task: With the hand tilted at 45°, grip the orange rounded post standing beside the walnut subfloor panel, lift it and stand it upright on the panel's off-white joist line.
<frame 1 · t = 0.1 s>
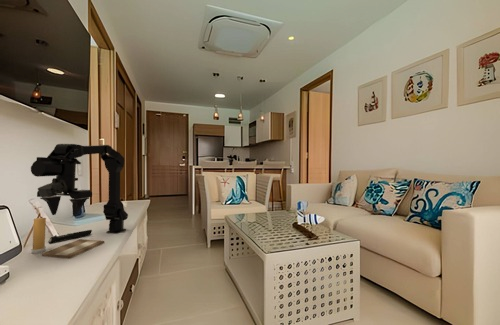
hand: (64, 215, 84), 15 cm above the tv stand, tool pointing down, fingers open, 9 cm apart
electric trimmer: (70, 239, 99), on the tv stand
subfloor panel: (75, 249, 88), on the tv stand
orange rounded post: (38, 251, 84), on the tv stand
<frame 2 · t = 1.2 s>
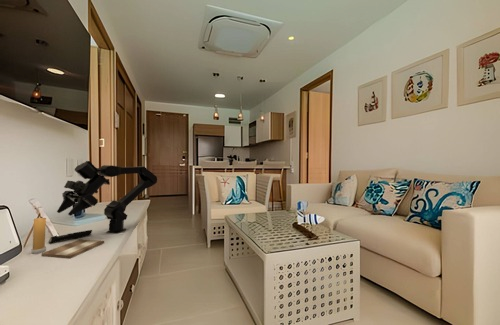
hand: (63, 213, 91), 14 cm above the tv stand, tool tilted 45°, fingers open, 9 cm apart
nothing on the tv stand moved.
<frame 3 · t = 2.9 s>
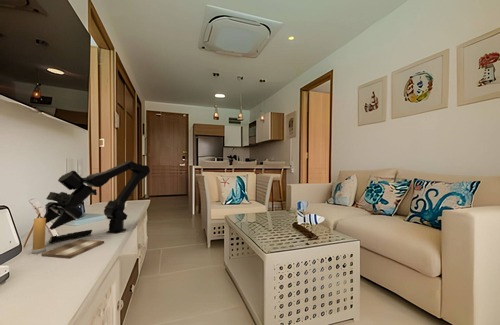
hand: (44, 227, 86), 9 cm above the tv stand, tool tilted 45°, fingers open, 9 cm apart
nothing on the tv stand moved.
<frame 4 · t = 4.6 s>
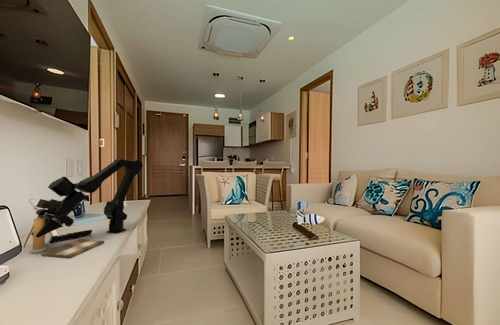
hand: (34, 236, 83), 7 cm above the tv stand, tool tilted 45°, fingers closed on orange rounded post, 3 cm apart
orange rounded post: (38, 251, 84), on the tv stand, touching gripper
everything else where it was.
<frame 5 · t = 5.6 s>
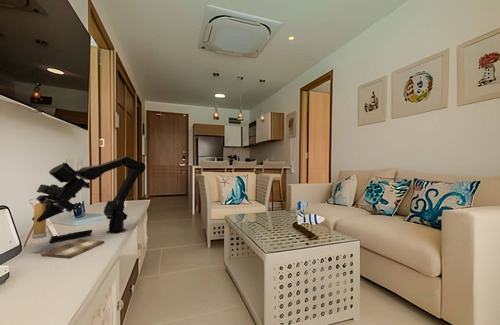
hand: (35, 220, 83), 12 cm above the tv stand, tool tilted 45°, fingers closed on orange rounded post, 3 cm apart
orange rounded post: (39, 236, 84), point 6 cm above the tv stand, touching gripper
everything else where it was.
when the fingers open (9 cm above the tv stand, at t = 7.9 s): orange rounded post drops 1 cm, resting on subfloor panel.
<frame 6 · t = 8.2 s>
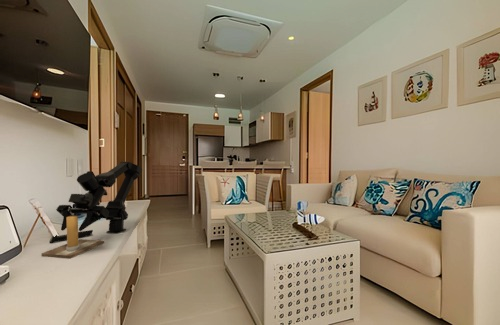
hand: (70, 230, 83), 9 cm above the tv stand, tool tilted 45°, fingers open, 7 cm apart
orange rounded post: (73, 249, 85), point 1 cm above the tv stand, touching subfloor panel
everything else where it was.
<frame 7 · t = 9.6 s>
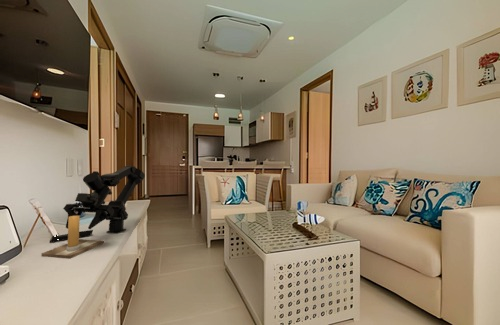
hand: (77, 228, 87), 9 cm above the tv stand, tool tilted 45°, fingers open, 9 cm apart
nothing on the tv stand moved.
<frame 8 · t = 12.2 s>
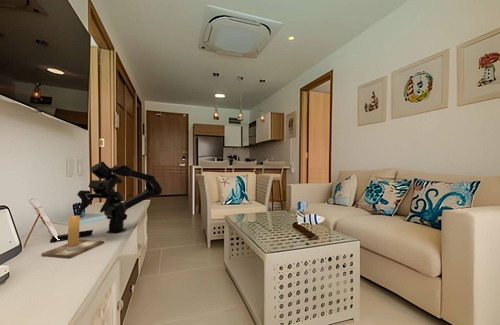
hand: (90, 211, 96), 14 cm above the tv stand, tool tilted 45°, fingers open, 9 cm apart
nothing on the tv stand moved.
at the end: orange rounded post 0.5 cm from the target spot, point 1.1 cm above the tv stand; orange rounded post tilted 0°; the gripper is holding nothing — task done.
